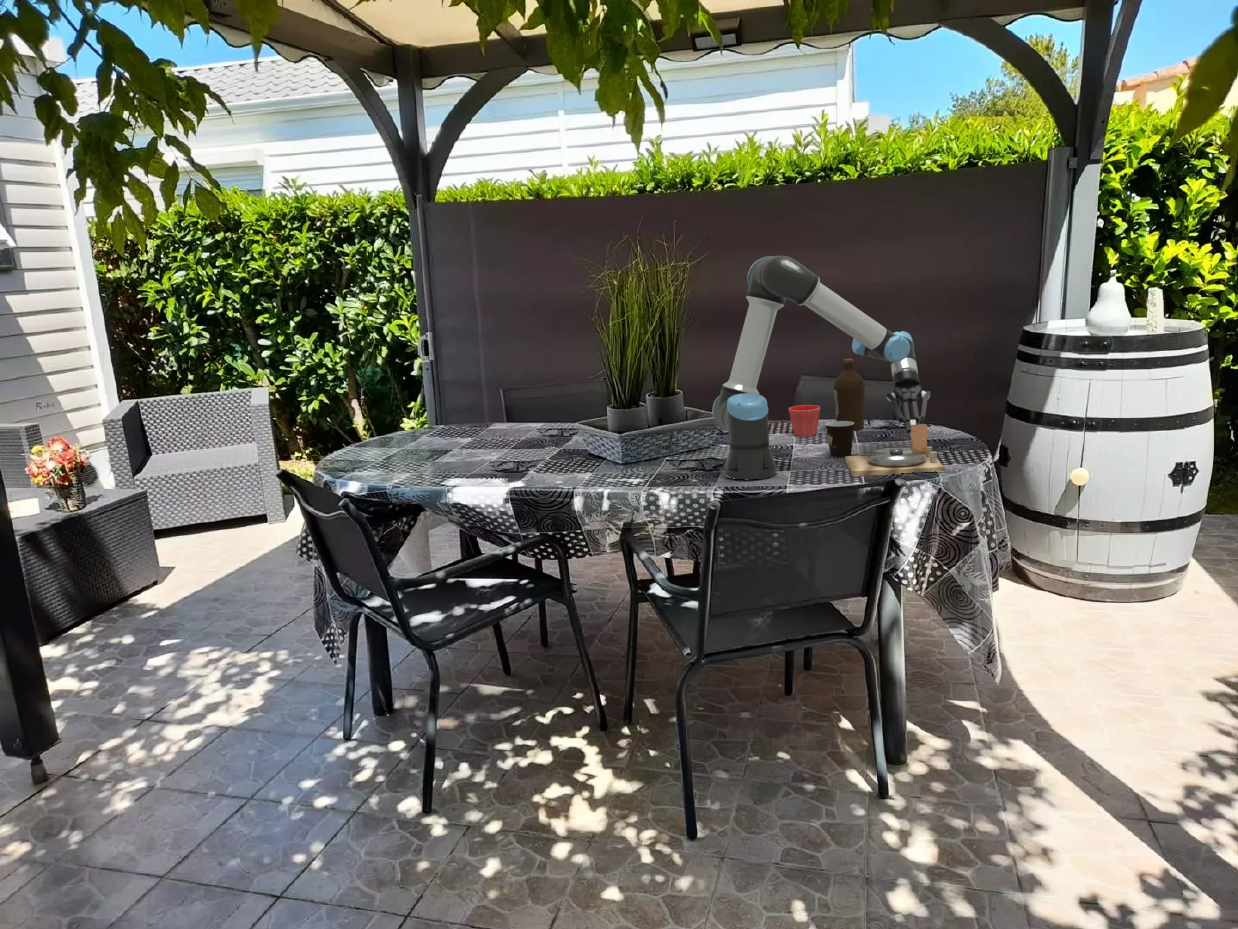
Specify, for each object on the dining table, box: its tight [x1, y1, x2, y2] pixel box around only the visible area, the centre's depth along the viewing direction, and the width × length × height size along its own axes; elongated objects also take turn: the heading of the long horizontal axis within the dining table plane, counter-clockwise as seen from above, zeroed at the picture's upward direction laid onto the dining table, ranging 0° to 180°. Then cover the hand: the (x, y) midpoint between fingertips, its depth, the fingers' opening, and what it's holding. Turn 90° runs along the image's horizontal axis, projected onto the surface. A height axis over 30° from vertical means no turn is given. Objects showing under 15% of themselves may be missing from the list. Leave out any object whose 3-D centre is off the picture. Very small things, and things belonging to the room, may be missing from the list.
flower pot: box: [788, 404, 821, 437], centre depth 309 cm, size 11×11×10 cm
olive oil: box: [833, 358, 866, 432], centre depth 310 cm, size 11×11×25 cm
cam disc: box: [867, 423, 928, 467], centre depth 253 cm, size 16×16×10 cm
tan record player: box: [844, 446, 946, 477], centre depth 254 cm, size 25×19×4 cm
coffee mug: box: [825, 420, 855, 458], centre depth 275 cm, size 12×9×10 cm
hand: (915, 440), depth 255 cm, fingers closed
